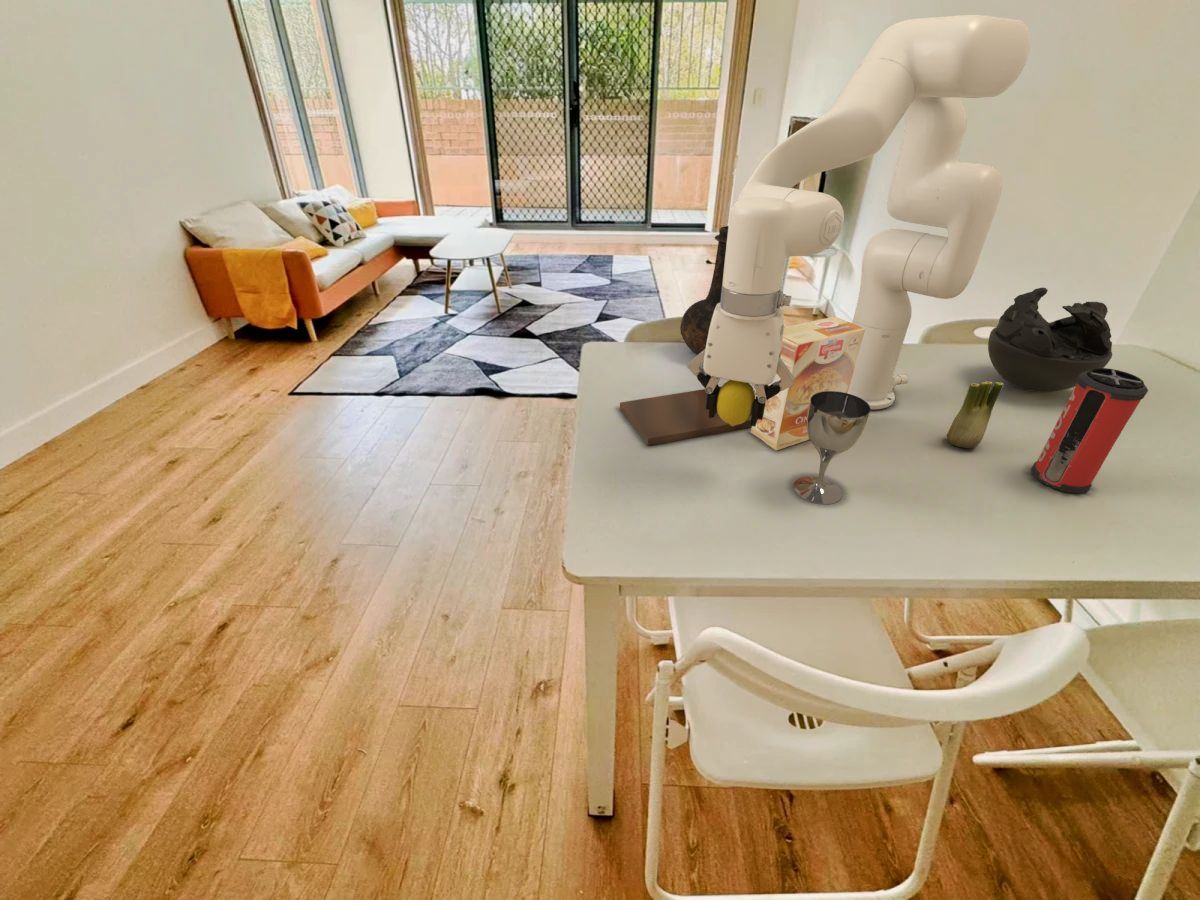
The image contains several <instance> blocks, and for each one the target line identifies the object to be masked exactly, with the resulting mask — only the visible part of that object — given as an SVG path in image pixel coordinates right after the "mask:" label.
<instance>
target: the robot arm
mask: <svg viewBox="0 0 1200 900" xmlns="http://www.w3.org/2000/svg"><path fill="white" fill-rule="evenodd" d="M1030 49H1031V35H1030V29H1029V28H1028V26H1027V25H1026V22H1024V21H1022V20H1021V19H1017V18H1016V19H1015V18H1007V17H1000V16H999V17H998V16H991V15H985V14H959V15H948V16H946V15H945V16H933V17H932V16H931V17H921V18H911V19H905V20H902V21H898V22H896V23H894V24H892V25H890V26H889V27H887V28H886V29H885V30H884V31H883V32H881V34H880V35H879V36H878V37H877V39H876V40H875V41H874V43H873V44H872V46H871V47H870V49H869V50H868V52H867V53H866V54H865V56H864V58H863V59H862V61H861V62H860V64H859V65H858V67H857V68H856V70H855V72H854V73H853V74H852V76H851V77H850V79H849V80H848V82H847V83H846V85H845V86H844V88H843V89H842V91H841V92H840V93H839V95H838V96H837V99H836V100H835V101H834V103H833V104H832V105H831V107H830V109H829V110H828V111H827V112H826V113H824V114H823V115H821V116H819V117H818V118H816V119H814V120H812V121H811V122H809V123H807V124H805V125H804V126H802V127H801V128H800V129H798V130H797V131H795V132H794V133H792V134H791V135H789V136H788V137H787V138H785V139H784V140H782V141H781V142H779V143H778V144H777V145H775V147H773V148H772V149H771V150H770V151H769V152H768V153H767V154H766V155H765V156H764V157H763V158H762V160H760V162H759V164H758V165H757V166H756V167H755V169H754V171H753V172H752V174H751V175H750V177H749V178H748V180H747V182H746V184H745V185H744V187H743V188H742V190H741V192H740V193H739V195H738V198H737V200H736V202H734V204H732V206H731V209H730V212H729V217H728V225H727V226H728V235H727V245H726V254H725V264H724V274H723V284H722V292H721V302H720V303H718V304H717V305H716V307H715V310H714V313H713V316H712V320H711V324H710V328H709V333H708V338H707V343H706V349H705V350H703V351H702V352H701V353H700V354H698V355H696V356H694V357H693V358H692V359H691V360H689V362H688V363H687V368H688V370H689V371H690V372H691V374H693V375H694V376H695V377H696V379H697V381H698V382H699V383H700V384H701V386H702V387H703V389H705V391H706V393H707V403H706V409H708V410H709V418H714V416H715V414H716V412H717V405H716V402H717V396H718V393H719V391H720V388H719V387H721V386H720V385H719V382H720V380H721V379H723V380H727V381H729V380H733V381H739V382H745V383H749V384H750V385H752V384H753V385H754V389H755V393H756V394H755V401H754V404H753V410H752V417H751V423H750V425H751V426H754V427H755V426H756V423H757V421H758V419H760V420H762V418H763V415H764V409H765V403H766V401H767V400H768V399H770V398H772V397H773V396H775V395H777V394H778V393H779V392H780V391H782V390H785V389H787V388H789V387H790V386H792V385H793V384H794V381H795V378H794V376H793V375H792V374H791V372H790V371H789V369H788V368H787V367H786V365H785V364H784V362H783V361H782V360H781V351H782V343H783V331H784V327H785V325H784V324H785V318H784V317H785V316H784V315H785V314H784V310H783V309H782V308H781V307H783V308H784V307H790V306H791V302H792V295H787V294H786V293H784V291H782V290H783V287H782V285H783V280H784V279H783V278H784V273H785V266H786V261H787V258H789V257H803V256H804V257H806V256H807V257H808V256H813V255H817V254H820V253H822V252H824V251H826V250H828V249H829V248H830V247H831V246H832V245H833V244H834V243H835V242H836V241H837V239H838V238H839V236H840V234H841V233H842V230H843V226H844V223H845V213H844V208H843V206H842V204H841V203H840V201H839V200H838V199H837V198H836V197H834V196H832V195H831V194H828V193H825V192H820V191H814V190H806V189H800V188H793V187H795V186H796V185H797V184H799V183H801V182H803V181H805V180H806V179H808V178H810V177H812V176H814V175H817V174H821V173H823V172H827V171H830V170H834V169H838V168H841V167H845V166H848V165H851V164H854V163H857V162H860V161H862V160H865V159H868V158H870V157H873V156H874V155H875V154H877V153H878V152H879V151H880V150H881V149H882V148H883V147H884V145H885V144H886V143H887V141H888V139H890V136H891V135H892V133H893V132H894V131H895V129H896V127H897V125H898V124H899V123H900V121H901V119H902V118H903V116H904V130H903V136H902V140H901V144H900V148H899V153H898V157H897V159H896V163H895V167H894V172H893V175H892V179H891V183H890V187H889V191H888V197H887V202H886V208H887V213H888V214H889V216H890V217H891V218H893V219H895V220H897V221H900V222H905V223H908V224H909V223H910V224H915V225H923V226H927V227H936V228H942V229H945V230H947V233H948V234H947V235H948V236H944V235H938V234H931V233H929V232H928V233H926V232H923V231H922V232H921V231H917V230H916V231H915V230H908V229H902V228H900V229H899V228H892V229H885V230H882V231H880V232H877V233H876V234H875V235H874V236H872V237H871V238H870V239H869V240H868V242H867V244H866V246H865V248H864V251H863V255H862V260H861V275H860V286H859V292H858V297H857V302H856V307H855V311H854V314H853V318H852V322H851V323H853V324H855V325H858V326H860V327H862V328H864V329H866V330H865V332H864V336H863V339H862V343H861V346H860V350H859V353H858V357H857V361H856V364H855V368H854V371H853V375H852V379H851V382H850V386H849V389H848V394H851V395H854V396H857V397H859V398H861V399H863V400H864V401H866V402H867V403H868V404H869V406H870V411H873V410H882V409H886V408H888V407H891V406H892V405H893V404H894V402H895V399H896V395H895V392H894V391H893V388H895V387H896V386H897V385H898V386H899V385H904V384H908V382H909V380H910V377H909V375H908V374H906V373H903V374H897V375H895V374H894V373H895V370H896V367H897V364H898V361H899V357H900V354H901V350H902V347H903V344H904V342H905V338H906V335H907V331H908V328H909V325H910V323H911V319H912V314H913V313H912V310H913V309H912V303H911V300H910V297H909V292H910V293H914V294H916V295H917V294H918V295H922V296H927V297H932V298H936V299H942V300H950V299H954V298H956V297H958V296H959V295H960V294H962V293H963V292H964V291H965V289H966V288H967V287H968V285H969V284H970V281H971V279H972V278H973V275H974V273H975V270H976V268H977V264H978V262H979V258H980V256H981V254H982V251H983V249H984V245H985V242H986V239H987V236H988V233H989V231H990V229H991V225H992V222H993V219H994V217H995V214H996V211H997V208H998V205H999V202H1000V198H1001V194H1002V187H1003V181H1002V175H1001V173H1000V171H999V170H998V169H997V168H996V167H994V166H992V165H988V164H986V163H976V162H966V161H965V162H963V161H959V154H960V151H961V147H962V145H963V144H962V143H963V141H964V137H965V134H966V131H967V126H968V121H967V114H966V109H965V107H964V104H963V101H962V99H961V98H963V99H980V98H981V99H982V98H994V97H998V96H999V95H1001V94H1003V93H1005V92H1006V91H1007V90H1008V89H1010V87H1011V86H1013V85H1014V83H1015V82H1016V81H1017V79H1018V78H1019V77H1020V75H1021V73H1022V71H1023V70H1024V68H1025V65H1026V63H1027V60H1028V58H1029V54H1030ZM776 373H777V374H778V376H779V377H780V378H781V380H779V381H778V382H774V383H773V384H771V383H772V382H773V380H774V377H775V375H776ZM768 384H771V385H770V386H769V385H768Z"/></svg>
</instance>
